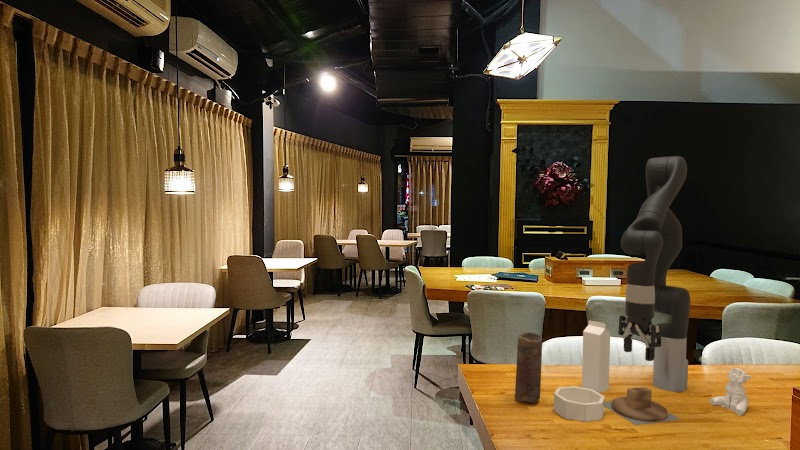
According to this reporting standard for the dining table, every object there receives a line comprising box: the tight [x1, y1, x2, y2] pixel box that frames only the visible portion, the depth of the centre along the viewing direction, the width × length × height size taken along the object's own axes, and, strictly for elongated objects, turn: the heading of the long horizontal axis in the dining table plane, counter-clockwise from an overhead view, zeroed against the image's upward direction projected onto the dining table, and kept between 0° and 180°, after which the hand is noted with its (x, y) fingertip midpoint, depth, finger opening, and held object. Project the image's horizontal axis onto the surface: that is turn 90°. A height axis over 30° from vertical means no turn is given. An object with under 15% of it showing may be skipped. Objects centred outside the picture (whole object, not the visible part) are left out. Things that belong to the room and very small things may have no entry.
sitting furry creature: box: [709, 367, 752, 416], centre depth 144 cm, size 10×9×12 cm
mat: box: [604, 401, 681, 426], centre depth 140 cm, size 15×15×1 cm
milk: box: [581, 320, 611, 394], centre depth 156 cm, size 6×6×22 cm
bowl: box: [553, 385, 606, 422], centre depth 139 cm, size 13×13×5 cm
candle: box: [514, 331, 543, 404], centre depth 147 cm, size 8×7×20 cm
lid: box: [611, 386, 668, 423], centre depth 140 cm, size 14×14×6 cm
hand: (638, 356), depth 140 cm, fingers open, 8 cm apart
